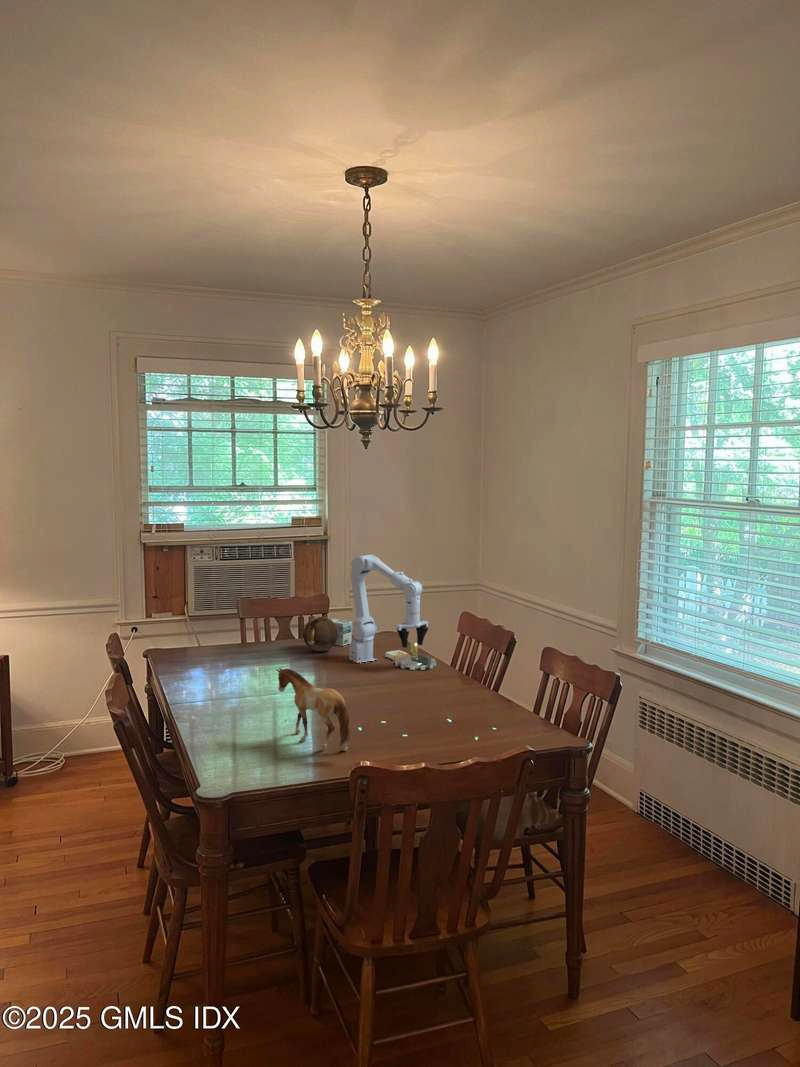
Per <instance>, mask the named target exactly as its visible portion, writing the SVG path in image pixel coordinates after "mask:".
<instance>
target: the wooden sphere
mask: <svg viewBox="0 0 800 1067" xmlns="http://www.w3.org/2000/svg"><path fill="white" fill-rule="evenodd" d="M302 633H303V634H302V636H303V641H304V643H305V644H306V646H307V647H308V648H309V649H310V650H313V651H315V652H319V651H322V652H326V651H328V650H331V649H332V648H333V647H334V646H335V645H334V644H335V643H336V641H337V638H338V630H337V627H336V625H335V624H334V622H333V621H332V620H330V618H328V617H327V616H326V617H325V616H316V617H313V618H311V619H310V620H309V621H308V622H307V623H306V624H305V625H304V628H303V632H302Z"/></svg>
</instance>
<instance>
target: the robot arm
mask: <svg viewBox="0 0 800 1067" xmlns="http://www.w3.org/2000/svg"><path fill="white" fill-rule="evenodd" d="M350 563H351V564H350V565H351V571H350V581H351V588H352V596H353V602H354V609H355V616H356V617H355V619H354V620H353V622H352V637H353V638H354V640H352V642H351V643H350V645H349V653H348V655H349V657H348V659H350V660H353V661H355V662H357V663H359V662H360V664H362V663H361V662H366V663H368V662H367V661H373V662H375V661H374V660H377V661H378V659H377V658H374V638H375V635H377V632H378V627H377V625H376V623H375V620H374V619H375V618H373V617H372V616H371V615H370V609H369V603H368V596H367V595H368V594H367V589H366V582H365V578H366V576H367V575H368V574H369V573H370V572H372V571H376V572H378V573H380V574H381V575H383V576H385V577H386V578H388V579H389V580H390V583H391V585H393V586H394V587H396V588H398V589H399V590H400V591H402V593H403V595H404V600H405V622H403V623H401V624H400V623H399V624H396V632H397V634H398V637H399V639H400V640H401V641H400V642H401V645H402V646H401V647H402V648H405V649H407V648H408V640H409V639H408V638H409V634H410V631H408V630H409V629H416V630H415V631H416V637H417V638H416V639H417V640H416V642H417V643H418V646H423V644H424V639H425V637H426V634H427V632H428V631H429V628H428V627H429V621H428V620H422V621H421V612H420V611H421V595H422V594H423V591H424V586H423V585H422V583H421V582H420V581H418V580H416V581H415V580H414V579H412V578H409V577H408V576H407V575H405V573H404V572H403V571H394V570H393V569H392V568H391V567H390V566H388V565H387V564H385V563H384V562H383V561H382V560H380V558H379V557H378V556H376V555H374V554H372V553H369V554H367V555H356V556H355V557H354V558H353V560H351V562H350ZM350 660H349V661H350ZM353 661H352V662H353ZM355 662H354V663H355ZM357 663H356V664H357Z"/></svg>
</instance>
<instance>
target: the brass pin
mask: <svg viewBox="0 0 800 1067" xmlns="http://www.w3.org/2000/svg"><path fill="white" fill-rule="evenodd" d="M418 651H419V645H418V643H417V641H410V649H409V655H411V656H416V655H418V654H419V652H418Z"/></svg>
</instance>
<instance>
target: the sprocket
mask: <svg viewBox="0 0 800 1067" xmlns="http://www.w3.org/2000/svg"><path fill="white" fill-rule="evenodd" d="M394 663H395V664H394V665H395V666H396V667H400V668H401V669H405V670H406V669H409V670H413V671H415V670H421V671H422V670H423V671H424V670H426V669H433V668H434V667H436V666H437V661H436V658H434V657H430V656H428V655H425V654H423V653H418V655H416V656H411V655H410V654H409V655H406V656H405V657H403V656H400V657H399V658H396V659H395V661H394Z"/></svg>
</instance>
